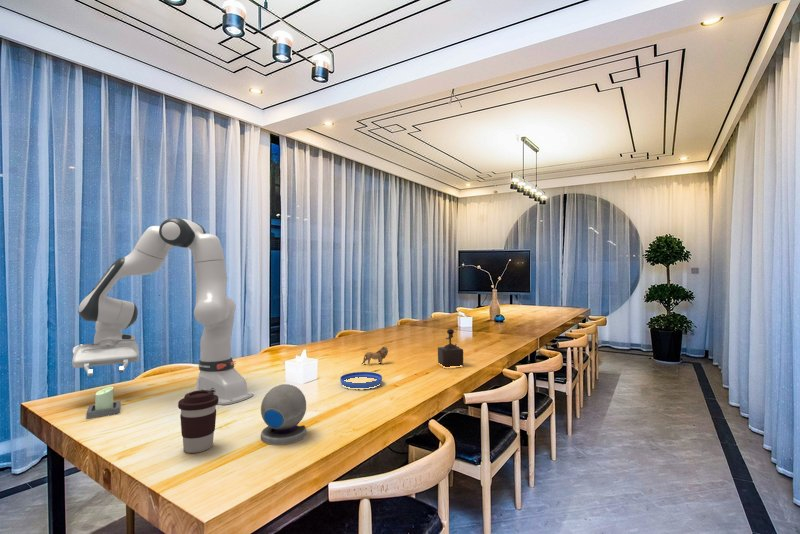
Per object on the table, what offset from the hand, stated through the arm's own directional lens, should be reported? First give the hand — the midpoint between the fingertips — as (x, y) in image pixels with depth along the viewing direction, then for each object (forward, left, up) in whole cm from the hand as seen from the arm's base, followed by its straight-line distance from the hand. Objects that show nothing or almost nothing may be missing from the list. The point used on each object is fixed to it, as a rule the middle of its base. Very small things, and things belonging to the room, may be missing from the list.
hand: (106, 373), depth 144 cm
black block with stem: (-89, -118, -12) cm, 148 cm away
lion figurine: (-54, -101, -12) cm, 115 cm away
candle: (-8, +4, -12) cm, 15 cm away
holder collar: (-8, +4, -12) cm, 15 cm away
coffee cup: (-62, +7, -12) cm, 63 cm away
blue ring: (-68, -66, -12) cm, 95 cm away
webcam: (-77, -10, -12) cm, 78 cm away
